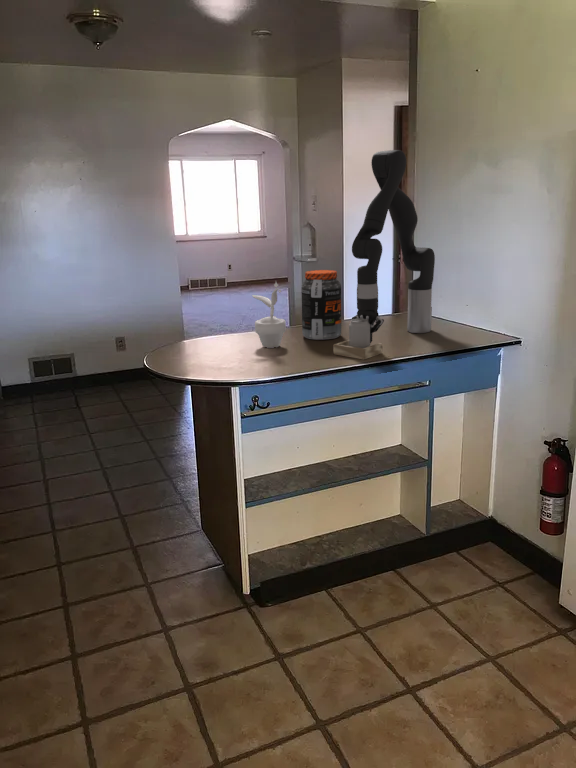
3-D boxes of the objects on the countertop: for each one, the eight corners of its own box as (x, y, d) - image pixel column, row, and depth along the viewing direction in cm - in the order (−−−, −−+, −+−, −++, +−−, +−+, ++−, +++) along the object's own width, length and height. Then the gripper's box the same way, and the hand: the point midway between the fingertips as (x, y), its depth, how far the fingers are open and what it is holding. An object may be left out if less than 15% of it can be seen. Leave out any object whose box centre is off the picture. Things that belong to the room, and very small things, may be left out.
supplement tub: (331, 342, 243) (329, 274, 236) (295, 339, 251) (293, 273, 243) (348, 333, 256) (347, 269, 249) (313, 330, 264) (312, 268, 256)
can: (368, 355, 222) (368, 322, 219) (347, 354, 224) (347, 321, 221) (371, 350, 229) (371, 317, 226) (350, 349, 231) (350, 317, 227)
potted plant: (291, 343, 243) (289, 278, 236) (278, 351, 233) (275, 283, 226) (262, 341, 248) (259, 277, 241) (248, 348, 238) (244, 282, 231)
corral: (351, 347, 234) (351, 338, 233) (381, 353, 225) (382, 343, 224) (333, 354, 226) (333, 344, 225) (364, 359, 217) (364, 349, 216)
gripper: (389, 295, 222) (389, 343, 227) (358, 292, 231) (359, 338, 236) (377, 299, 217) (377, 348, 222) (346, 296, 225) (347, 343, 231)
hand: (367, 343), depth 229 cm, fingers closed
